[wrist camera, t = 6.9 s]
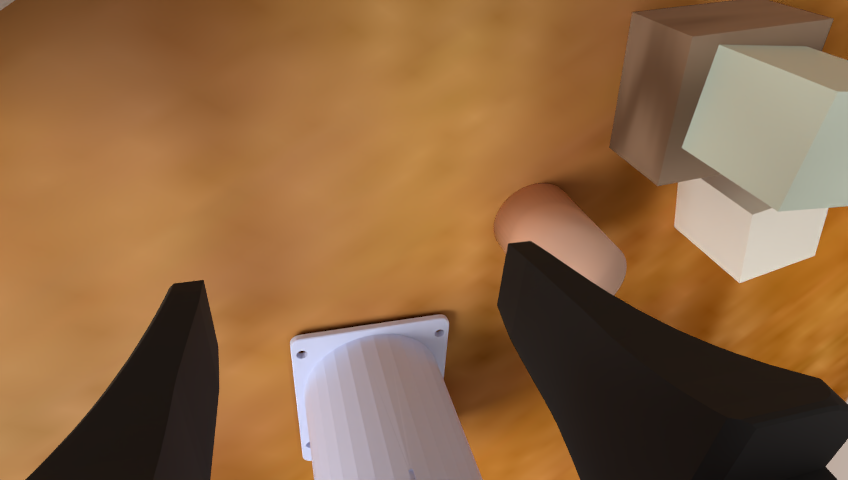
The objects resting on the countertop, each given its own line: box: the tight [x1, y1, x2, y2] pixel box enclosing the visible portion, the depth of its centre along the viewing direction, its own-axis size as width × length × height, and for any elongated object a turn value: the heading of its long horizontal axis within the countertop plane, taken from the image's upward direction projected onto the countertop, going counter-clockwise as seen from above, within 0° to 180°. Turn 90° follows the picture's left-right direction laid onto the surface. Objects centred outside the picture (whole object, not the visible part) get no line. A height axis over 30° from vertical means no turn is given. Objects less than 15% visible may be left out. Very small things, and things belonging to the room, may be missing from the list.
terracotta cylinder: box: [494, 183, 627, 295], centre depth 25 cm, size 4×4×5 cm
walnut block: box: [609, 0, 833, 186], centre depth 23 cm, size 6×6×4 cm
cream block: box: [674, 174, 828, 283], centre depth 27 cm, size 4×4×5 cm
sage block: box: [682, 45, 848, 212], centre depth 20 cm, size 4×4×5 cm
